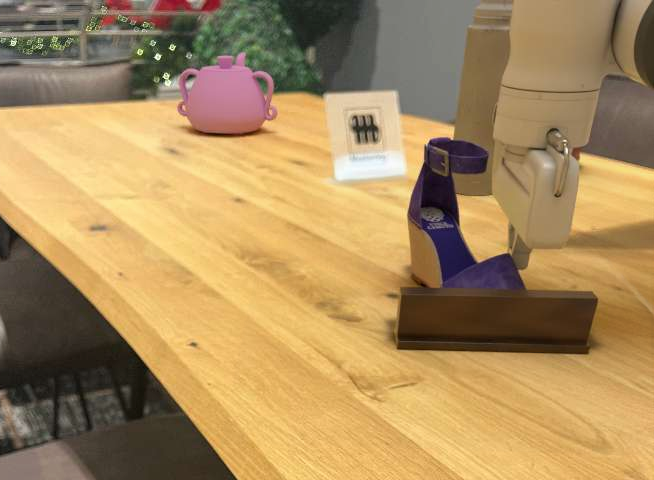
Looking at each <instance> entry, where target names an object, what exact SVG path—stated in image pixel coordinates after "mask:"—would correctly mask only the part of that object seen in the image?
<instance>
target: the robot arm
mask: <svg viewBox="0 0 654 480" xmlns="http://www.w3.org/2000/svg"><path fill="white" fill-rule="evenodd" d="M509 35H510V56H509V60H508V64H507V67H506V69H505V71H504V74H503V76H502V80H501V85H500V92H499V99H498V102H497V103H496V105H495V108H494V113H493V121H492V123H493V126H494V131H493V138H494V139H495V147H494V158H493V171H492V193H493V194H492V197H493V198H494V199H495V201H496V202H497V204H498V206H499V208H500V209H501V210H502V211H503V213H504V215H505V216H506V218H507V220H508V223H507V251H506V253H510V255H511V257H512V259H513V261H514V263H515V265H516V267H517V269H518V271H525V270H526V269H528V266H529V262H530V257H531V253H532V251H533V250H562V249H563V248H564V247H565V246H566V244H567V243H568V240H569V238H570V234H571V230H572V226H573V220H574V215H575V210H576V209H575V208H576V203H577V196H578V190H579V185H580V184H579V183H580V163H579V164H578V161H577V160H576V159H575V158H574V157H573V156H572V150H573V148H577V147H581V148H582V147H585V146H586V145H587V144H589V141H590V135H591V132H592V127H593V123H594V117H595V114H596V109H597V106H598V105H597V104H598V100H599V95H600V92H601V91H600V90H601V87H602V82H603V80H604V79H605V77H606V76H608V75H610V74H620V75H623V76H624V77H626V78H629V79H631V80H633V81H635V82H636V83H638V84H642V85H643V86H646V87H648V88H650V89H651V90H652V91H654V0H514V3H513V8H512V14H511V20H510V27H509Z"/></svg>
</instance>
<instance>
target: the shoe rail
mask: <svg viewBox="0 0 654 480" xmlns="http://www.w3.org/2000/svg"><path fill="white" fill-rule="evenodd" d="M398 290H399V291H398V299H397V300H398V301H397V310H396V321H395V325H394V327H393V328H394V329H393V333H394V339H395V344H396V349H398V350H434V351H435V350H436V351H437V350H439V351H473V352H475V351H476V352H512V353H514V352H516V353H550V354H555V353H557V354H589V353H590V350H591V344H590V343H589V338H590V334H591V330H592V326H593V322H594V319H595V314H596V311H597V307H598V302H599V297H598V296H597V295H596V293H595V292H594V291H592V290H557V289H556V290H554V289H551V290H550V289H526V290H516V289H472V288H428V287H427V286H425V287H424V286H421V287H419V286H399V289H398Z"/></svg>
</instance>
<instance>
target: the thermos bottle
mask: <svg viewBox="0 0 654 480" xmlns="http://www.w3.org/2000/svg"><path fill="white" fill-rule="evenodd" d="M513 3H514V0H481V3H480V4H479V5H477V6H476V7H474V13H473V15H472V17H473V22H472V23H471V24H469V25H468V26H467V29H466V37H465V45H464V55H463V61H462V62H463V63H462V69H461V76H460V82H459V83H460V84H459V90H458V98H457V107H456V115H455V122H454V130H453V137H452V140H464V141H468V142H471V143H474V144H477V145H479V146H481V147H483V148H485V149H486V150H487V151H488V152H489V156H488V162H487V167H486V171H485V172H484V173H482V174H467V175H464V174H456V173H452V175H453V180H454V185H455V191H456V194H459V195H464V196H489V195H493V193H492V171H493V158H494V147H495V139H494V138H493V131H494V126H493V123H492V121H493V113H494V108H495V105H496V103H497V102H498V99H499V92H500V85H501V80H502V76H503V74H504V71H505V69H506V67H507V64H508V60H509V56H510V35H509V27H510V20H511V14H512V8H513ZM458 165H459V164H458Z"/></svg>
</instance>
